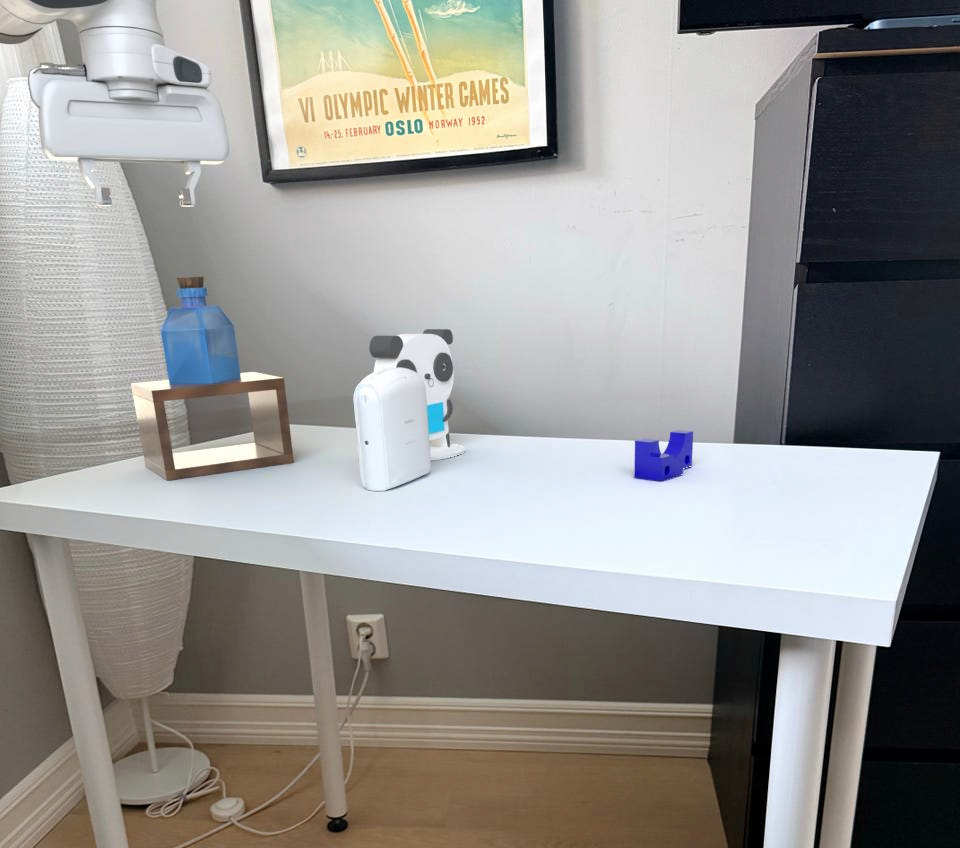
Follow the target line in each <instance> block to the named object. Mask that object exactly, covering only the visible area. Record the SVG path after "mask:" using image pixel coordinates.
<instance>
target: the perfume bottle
mask: <svg viewBox="0 0 960 848" xmlns="http://www.w3.org/2000/svg"><path fill="white" fill-rule="evenodd" d="M204 278H205V277H204V276H189V277H185V276H184V277H176V281H177V283H178V286H179V288H176V292H177V293H176V294H177V298H180V302H181V306H179V307H170V309H169V310H168V312H167V315H166V318H165V320H164V322H163V325H162V326H161V328H160V334H161V340H162V341H161V342H162V347H163V352H164V359H165V360H164V361H165V366H166V372H167V377H168V380H169V384H205V383H217V382H221V381H226V380H231V379H236V378H241V375H240V373H241V368H240V361H239V360H240V359H239V355H238V354H239V353H238V346H237V339H236V332H235V326H234V324H233V323H232V321H231V320H230V319H229V317H228V316H227V315H226V313H224V311H223V310H222V308H221V307H220V306H219V305H218V304H217V305H208V304H207V299H206V297H208V288H207V287H204Z"/></svg>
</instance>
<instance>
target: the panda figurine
mask: <svg viewBox="0 0 960 848" xmlns="http://www.w3.org/2000/svg"><path fill="white" fill-rule="evenodd" d="M453 341H454V335H453V332H452V330H451V329H448V328H427V329H424V330H423V331H422V333H399V334H396V335H374V336H373V337H372V338H371V339H370V341H369V348H368V349H369V353H370V356H371V357H372V358H375V363H374V367H373V372H375V371H377V370H379V369H382V368H388V367H395V368H407V369H410V370H412V371H414V372H416V373H418V374H419V375H420V376H421V378H422V379H423V381H424V384H425V387H426V399H427V413H428V426H429V442H430V457H431V461H439V460H440V461H441V460H447V459H450V457H451V458H455V457H458V456H457V455H459V456H461V455H463V454H465V453H466V447H465V446H464V445H462V444H457V443H451V438H450V431H449V419H450V418H451V416H452V414H453V409H454V408H453V403H452V400H451V399H449V397H450V395H451V393H452V390H453V386H454V381H455V368H454V361H453V358H452V357H453V356H452V354H451V350H450V347H449V345H452V344H453ZM464 452H465V453H464ZM460 454H461V455H460ZM454 456H455V457H454Z"/></svg>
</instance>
